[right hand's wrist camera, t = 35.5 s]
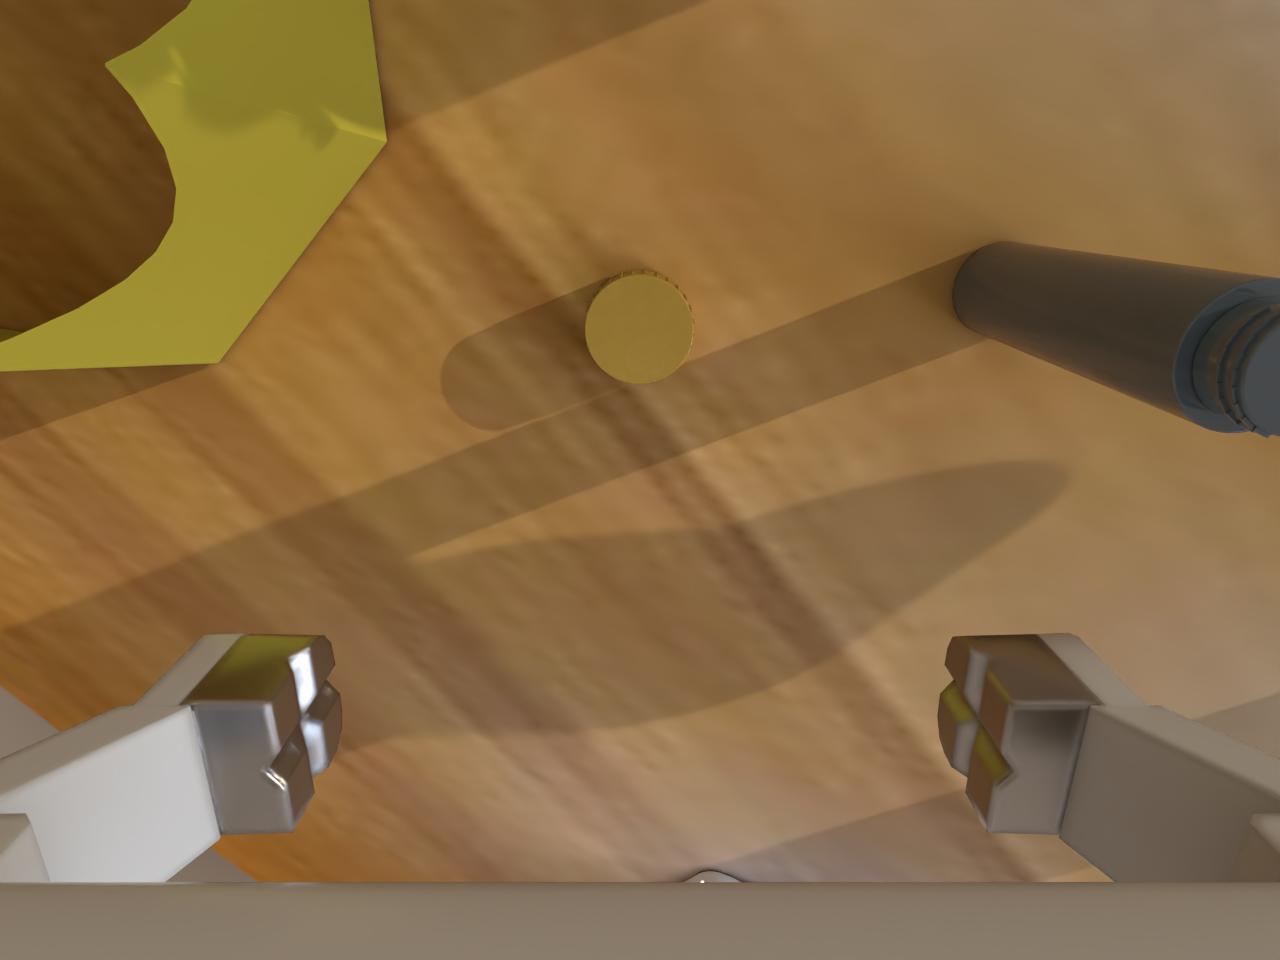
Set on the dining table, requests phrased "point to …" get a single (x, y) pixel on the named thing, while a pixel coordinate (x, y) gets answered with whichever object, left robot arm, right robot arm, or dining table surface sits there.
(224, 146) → the crown
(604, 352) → the lid
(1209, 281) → the jar
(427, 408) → the dining table surface
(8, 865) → the right robot arm
